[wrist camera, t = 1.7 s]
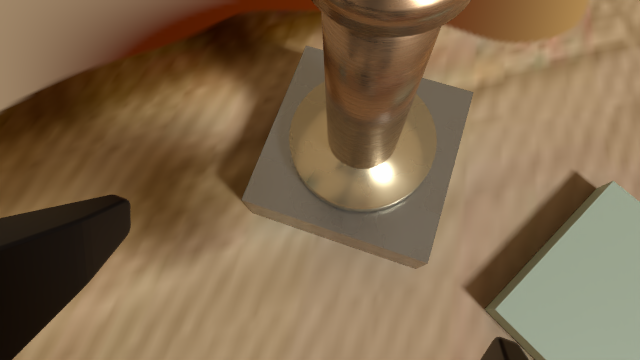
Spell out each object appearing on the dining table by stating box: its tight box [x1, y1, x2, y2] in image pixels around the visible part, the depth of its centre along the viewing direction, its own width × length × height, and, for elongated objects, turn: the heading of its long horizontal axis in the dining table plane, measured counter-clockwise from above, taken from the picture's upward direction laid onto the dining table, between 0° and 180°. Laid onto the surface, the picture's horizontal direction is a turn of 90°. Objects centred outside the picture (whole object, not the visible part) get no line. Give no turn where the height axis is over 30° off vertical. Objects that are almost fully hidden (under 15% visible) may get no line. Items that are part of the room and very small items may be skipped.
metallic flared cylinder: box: [289, 0, 471, 212], centre depth 17 cm, size 8×8×16 cm
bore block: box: [242, 46, 473, 269], centre depth 23 cm, size 10×10×3 cm
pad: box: [485, 181, 640, 360], centre depth 21 cm, size 10×10×2 cm
